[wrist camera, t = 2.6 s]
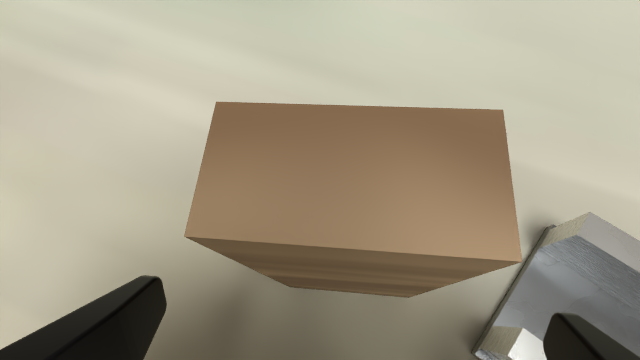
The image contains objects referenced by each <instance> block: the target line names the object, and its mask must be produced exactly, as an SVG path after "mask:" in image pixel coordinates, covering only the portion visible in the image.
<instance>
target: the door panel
mask: <svg viewBox="0 0 640 360" xmlns="http://www.w3.org/2000/svg"><path fill="white" fill-rule="evenodd" d="M184 237H186V238H188V239H190V240H193V241H195V242H197V243H199V244H201V245H203V246H205V247H207V248H209V249H211V250H213V251H216V252H218V253H220V254H222V255H224V256H226V257H228V258H230V259H232V260H234V261H237V262H239V263H241V264H243V265H245V266H247V267H249V268H251V269H253V270H255V271H257V272H260V273H262V274H264V275H266V276H268V277H270V278H272V279H274V280H276V281H278V282H281V283H283V284H285V285H287V286H289V287H296V288H307V289H318V290H330V291H341V292H352V293H363V294H375V295H386V296H397V297H408V298H409V297H412V296H415V295H418V294H422V293H425V292H428V291H431V290H434V289H437V288H441V287H444V286H447V285H450V284H453V283H456V282H460V281H463V280H466V279H469V278H472V277H475V276H479V275H482V274H485V273H488V272H491V271H494V270H498V269H501V268H504V267H507V266H510V265H513V264H517V263H520V262H522V257H521V249H520V241H519V233H518V225H517V217H516V209H515V201H514V193H513V185H512V177H511V169H510V161H509V153H508V145H507V137H506V129H505V121H504V113H503V110H490V109H454V108H419V107H383V106H347V105H312V104H276V103H240V102H216V105H215V109H214V113H213V117H212V122H211V126H210V130H209V134H208V138H207V143H206V147H205V151H204V155H203V159H202V164H201V168H200V172H199V176H198V180H197V185H196V189H195V193H194V197H193V201H192V206H191V210H190V214H189V218H188V222H187V226H186V231H185V235H184Z"/></svg>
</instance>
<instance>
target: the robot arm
mask: <svg viewBox="0 0 640 360" xmlns="http://www.w3.org/2000/svg"><path fill="white" fill-rule="evenodd" d="M166 306H167V303H166V298H165V293H164V289H163V284H162V281H161V279H160V278H159V277H157V276H147V275H144V276H140V277H138V278H136V279H134V280H132V281H131V282H129V283H127V284H125V285H123V286H121V287H119V288H117V289H115V290H113V291H111V292H110V293H108V294H106V295H104V296H102V297H100V298H98V299H96V300H94V301H92V302H90V303H89V304H87V305H85V306H83V307H81V308H79V309H77V310H75V311H73V312H71V313H69V314H68V315H66V316H64V317H62V318H60V319H58V320H56V321H54V322H52V323H50V324H48V325H47V326H45V327H43V328H41V329H39V330H37V331H35V332H33V333H31V334H29V335H27V336H26V337H24V338H22V339H20V340H18V341H16V342H14V343H12V344H10V345H8V346H6V347H5V348H3V349H1V350H0V360H143V359H144V357H145V355H146V353H147V351H148V348H149V346H150V344H151V342H152V340H153V337H154V335H155V333H156V331H157V329H158V327H159V324H160V322H161V320H162V318H163V316H164V314H165V311H166ZM543 349H544V353H545V356H546V358H547V360H640V357H639V356H638V355H636V354H635V353H633V352H632V351H630V350H629V349H628V348H626V347H625V346H623V345H622V344H620V343H619V342H617V341H616V340H614V339H613V338H611V337H610V336H608V335H607V334H606V333H604V332H603V331H601V330H600V329H598V328H597V327H595V326H594V325H592V324H591V323H589V322H588V321H586V320H585V319H584V318H582V317H581V316H579V315H577V314H573V313H563V312H556V313H554V314H553V315H552V317H551V319H550V322H549V325H548V327H547V330H546V333H545V336H544V339H543Z"/></svg>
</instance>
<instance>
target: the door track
mask: <svg viewBox="0 0 640 360" xmlns="http://www.w3.org/2000/svg"><path fill="white" fill-rule="evenodd" d="M556 312H563V313H573V314H577V315H579V316H581V317H582V318H584V319H585V320H586V321H588V322H589V323H591V324H592V325H594V326H595V327H597V328H598V329H600V330H601V331H603V332H604V333H606V334H607V335H608V336H610V337H611V338H613V339H614V340H616V341H617V342H619V343H620V344H622V345H623V346H625V347H626V348H628V349H629V350H630V351H632V352H633V353H635V354H636V355H638V356H639V357H640V241H639V240H637V239H635V238H634V237H632V236H630V235H629V234H627V233H625V232H624V231H622V230H620V229H618V228H617V227H615V226H613V225H612V224H610V223H608V222H606V221H605V220H603V219H601V218H600V217H598V216H596V215H594V214H593V213H591V212H589V213H587V214H584V215H582V216H580V217H577V218H575V219H573V220H570V221H568V222H566V223H564V224H561V225H559V226H555V225H551V226H549V227H547V228H546V230H545V232H544V233H543V235H542V236H541V238H540V240H539V241H538V243H537V245H536V246H535V248H534V250H533V251H532V253H531V255H530V256H529V258H528V260H527V261H526V263H525V265H524V266H523V268H522V269H521V271H520V273H519V274H518V276H517V278H516V279H515V281H514V283H513V284H512V286H511V288H510V289H509V291H508V293H507V294H506V296H505V298H504V299H503V301H502V302H501V304H500V306H499V307H498V309H497V311H496V312H495V314H494V316H493V317H492V319H491V321H490V322H489V324H488V326H487V327H486V329H485V331H484V332H483V334H482V336H481V337H480V339H479V340H478V342H477V344H476V345H475V347H474V349H473V350H472V352H471V353H472V354H473V355H475V356H476V357H477V358H478V359H480V360H547V358H546V356H545V353H544V349H543V339H544V336H545V333H546V330H547V327H548V325H549V322H550V319H551V317H552V315H553V314H554V313H556Z"/></svg>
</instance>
